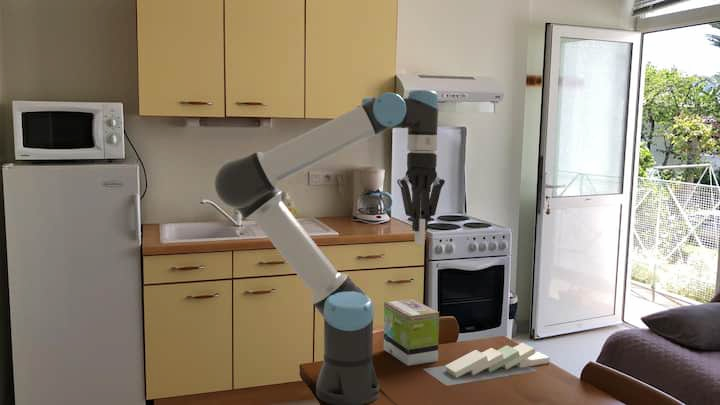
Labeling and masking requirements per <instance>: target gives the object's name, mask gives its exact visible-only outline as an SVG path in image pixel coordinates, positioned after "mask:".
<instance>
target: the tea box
mask: <svg viewBox="0 0 720 405" xmlns="http://www.w3.org/2000/svg"><path fill="white" fill-rule="evenodd" d="M439 328H440V311H438V310H435V309H433V308H431V307H430V306H427V305H425V304H423V303H421V302H420V301H418V300H416V299H414V298H411V299H410V298H409V299H403V300H393V301H385V302H384V305H383V351H385V352H387V353H388V354H390V355H392V356H393V357H394V358H396V359H397V360H399V361H400V362H402V363H403V364H405V365H406V366H413V365H419V364H426V363H427V364H428V363H433V362H438V361H439V332H440V329H439Z"/></svg>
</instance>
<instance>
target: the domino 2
mask: <svg viewBox="0 0 720 405" xmlns="http://www.w3.org/2000/svg"><path fill="white" fill-rule="evenodd" d="M497 350H498V349H497ZM497 350H496V349H495V348H493V347H490V348H487V349H486V350H484V351H482V352H481V353H482V354H484V355H486V356H487V359H488V362H486V363H484V364H482V365H480V366H478V367H476V368H474V369H472V370H471V371H469V373H471V374H472V375H475V374H477V373H478V372H480V371H482V370H484V369H486V368H488V367H490V366H492V365H493V364H495V363H497V362H499V361H501V360H503V359H504V357H503V354H502V353H501V352H499V351H497Z"/></svg>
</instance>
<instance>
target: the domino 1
mask: <svg viewBox="0 0 720 405" xmlns="http://www.w3.org/2000/svg"><path fill="white" fill-rule="evenodd" d="M486 362H488V359H487V356H486V355H484V354H482V352H481V351H479V350H477V349H475V350H472V351H471V352H469V353H466V354H465V355H462V356H461V357H459V358H457V359H455V360H453V361H451V362H450V363H447V364H446V365H444V366H445V368H446V371H447V372H449V373H450V374H452V375H453V376H455V377H456V378H457V377H459V376H461V375H463V374H465V373H467V372H469V371H471V370H472V369H474V368H476V367H478V366H480V365H482V364H484V363H486Z"/></svg>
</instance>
